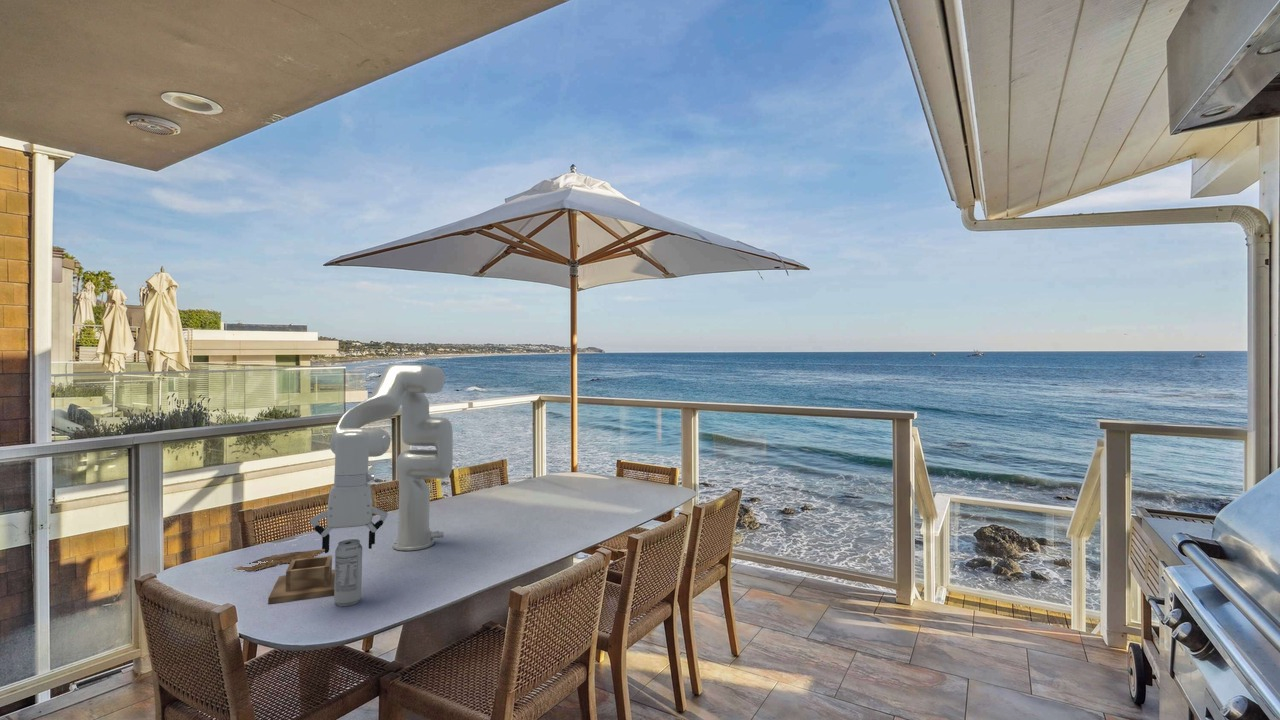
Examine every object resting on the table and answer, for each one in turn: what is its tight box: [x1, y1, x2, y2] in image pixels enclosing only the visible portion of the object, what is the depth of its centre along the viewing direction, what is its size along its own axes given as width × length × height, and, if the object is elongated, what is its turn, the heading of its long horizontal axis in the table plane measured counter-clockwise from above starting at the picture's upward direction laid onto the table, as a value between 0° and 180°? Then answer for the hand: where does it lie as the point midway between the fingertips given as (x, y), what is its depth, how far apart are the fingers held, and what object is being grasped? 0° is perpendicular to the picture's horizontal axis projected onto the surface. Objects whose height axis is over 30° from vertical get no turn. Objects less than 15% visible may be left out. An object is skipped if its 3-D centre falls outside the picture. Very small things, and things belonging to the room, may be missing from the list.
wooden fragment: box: [233, 548, 325, 572], centre depth 170 cm, size 26×11×1 cm, turn 138°
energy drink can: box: [333, 538, 363, 607], centre depth 140 cm, size 6×6×15 cm
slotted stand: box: [267, 555, 335, 605], centre depth 149 cm, size 16×16×6 cm
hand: (348, 549), depth 140 cm, fingers open, 9 cm apart
